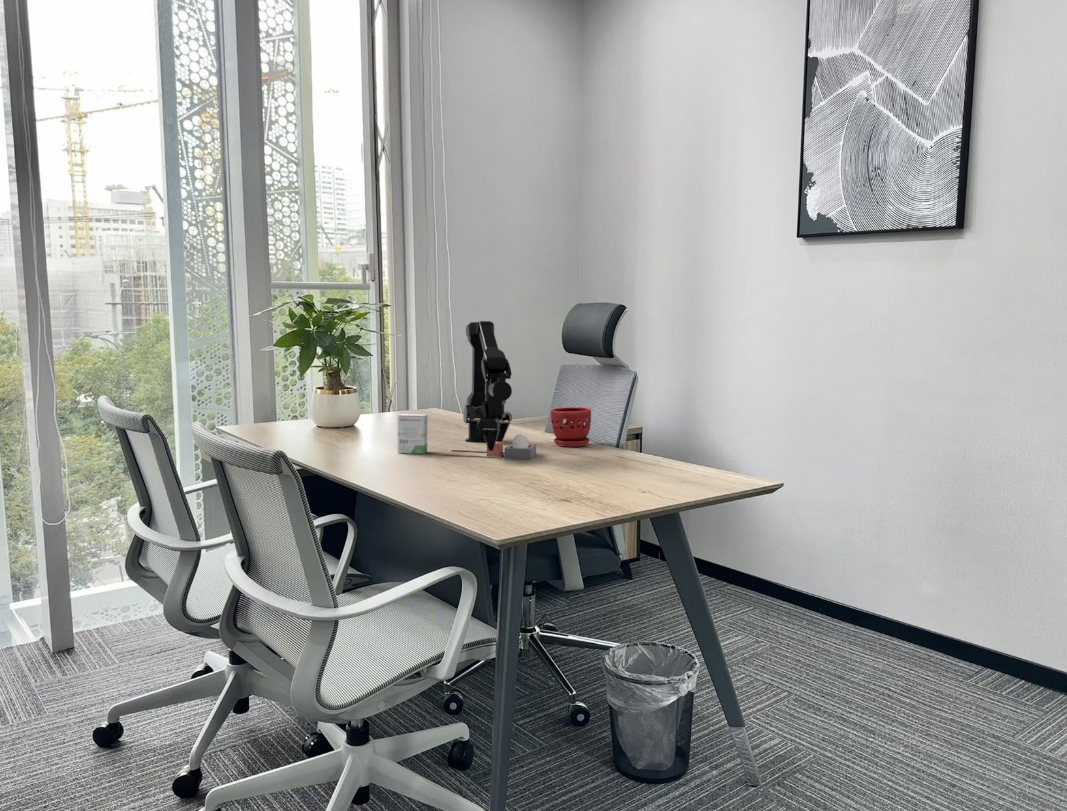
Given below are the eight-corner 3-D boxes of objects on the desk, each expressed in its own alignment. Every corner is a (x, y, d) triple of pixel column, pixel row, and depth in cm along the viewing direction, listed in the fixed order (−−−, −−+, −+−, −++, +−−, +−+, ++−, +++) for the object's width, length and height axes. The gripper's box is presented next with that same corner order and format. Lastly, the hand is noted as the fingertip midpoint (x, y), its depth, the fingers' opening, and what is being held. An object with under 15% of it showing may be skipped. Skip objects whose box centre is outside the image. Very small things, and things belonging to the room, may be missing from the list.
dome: (514, 453, 263) (514, 432, 262) (530, 454, 262) (530, 433, 261) (510, 456, 259) (510, 435, 258) (526, 456, 258) (526, 435, 257)
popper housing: (510, 453, 265) (510, 443, 265) (536, 454, 263) (536, 445, 263) (504, 458, 257) (504, 448, 257) (530, 459, 256) (530, 449, 255)
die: (490, 454, 265) (490, 440, 264) (503, 454, 264) (503, 440, 263) (486, 456, 261) (486, 442, 260) (499, 457, 260) (499, 442, 259)
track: (452, 450, 270) (452, 449, 270) (508, 453, 266) (508, 452, 266) (443, 455, 261) (443, 454, 261) (500, 458, 257) (500, 457, 257)
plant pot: (588, 441, 288) (589, 406, 286) (592, 448, 275) (593, 411, 273) (549, 441, 288) (549, 406, 286) (551, 448, 275) (551, 411, 273)
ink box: (397, 453, 265) (396, 415, 263) (401, 450, 270) (400, 413, 268) (424, 454, 264) (424, 415, 262) (428, 451, 269) (428, 413, 267)
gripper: (477, 393, 271) (478, 442, 273) (459, 399, 253) (460, 452, 255) (512, 394, 268) (512, 443, 270) (496, 401, 250) (496, 454, 252)
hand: (494, 448), depth 262 cm, fingers open, 9 cm apart
